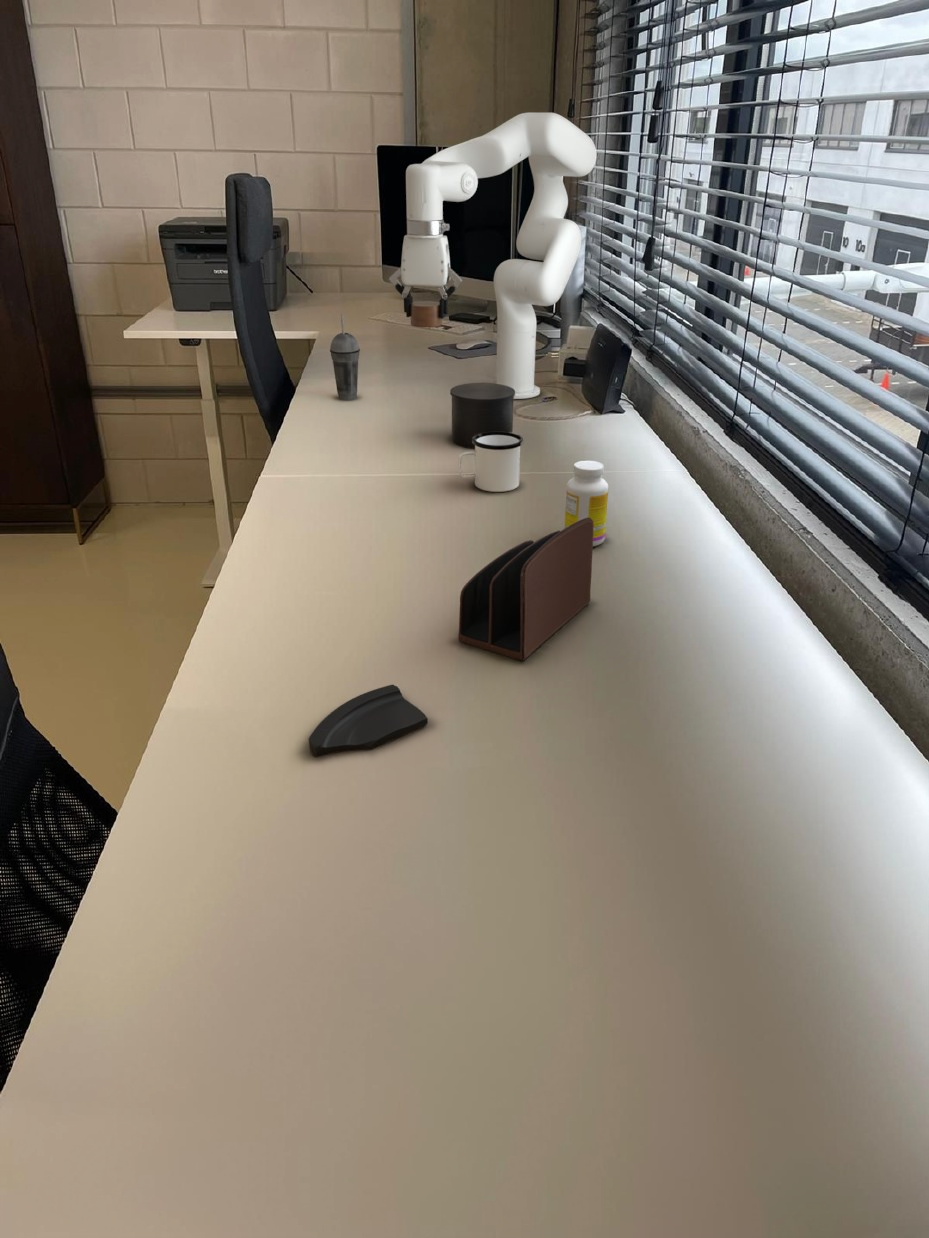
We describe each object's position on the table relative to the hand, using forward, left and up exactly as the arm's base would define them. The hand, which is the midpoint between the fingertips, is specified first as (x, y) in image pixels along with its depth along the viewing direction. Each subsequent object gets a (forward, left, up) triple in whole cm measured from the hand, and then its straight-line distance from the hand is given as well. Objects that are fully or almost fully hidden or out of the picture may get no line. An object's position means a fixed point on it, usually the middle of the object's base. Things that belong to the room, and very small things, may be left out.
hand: (426, 316), depth 207 cm
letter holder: (+95, +34, -23) cm, 103 cm away
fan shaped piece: (+123, +19, -23) cm, 127 cm away
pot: (+14, +15, -23) cm, 31 cm away
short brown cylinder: (0, 0, -2) cm, 2 cm away
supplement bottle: (+65, +40, -23) cm, 80 cm away
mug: (+42, +21, -23) cm, 52 cm away
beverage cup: (-14, -23, -23) cm, 35 cm away
